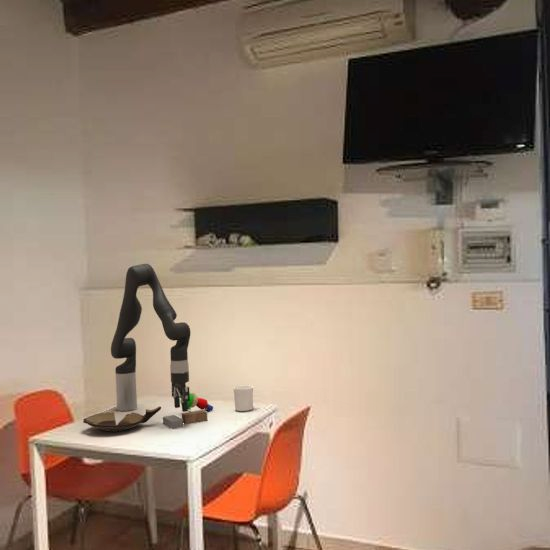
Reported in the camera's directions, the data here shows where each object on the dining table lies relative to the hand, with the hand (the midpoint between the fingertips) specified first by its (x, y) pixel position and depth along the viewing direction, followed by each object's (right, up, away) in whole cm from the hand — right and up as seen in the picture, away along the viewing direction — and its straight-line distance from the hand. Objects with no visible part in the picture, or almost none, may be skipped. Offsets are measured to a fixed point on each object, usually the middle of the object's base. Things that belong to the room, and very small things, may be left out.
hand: (181, 409), depth 248 cm
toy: (+4, -6, +20) cm, 21 cm away
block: (+1, -4, +1) cm, 4 cm away
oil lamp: (-24, -7, -4) cm, 25 cm away
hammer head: (-3, -6, -2) cm, 7 cm away
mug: (+25, -5, +22) cm, 34 cm away
